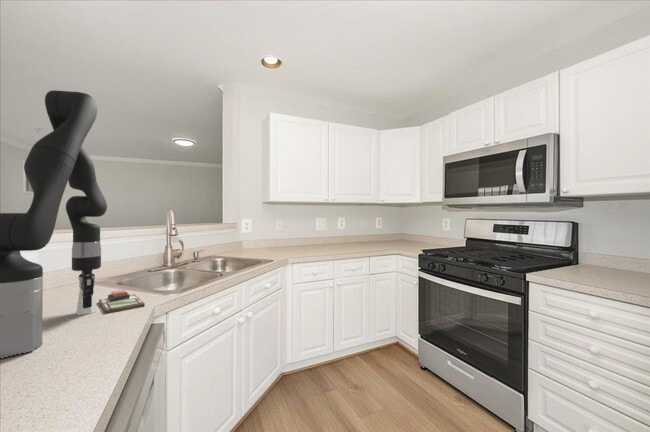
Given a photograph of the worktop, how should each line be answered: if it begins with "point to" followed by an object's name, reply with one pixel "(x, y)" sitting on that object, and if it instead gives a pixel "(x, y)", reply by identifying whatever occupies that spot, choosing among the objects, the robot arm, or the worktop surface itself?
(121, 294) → the button
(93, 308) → the pepper shaker
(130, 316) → the worktop surface
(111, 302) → the metal control panel
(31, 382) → the worktop surface
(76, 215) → the robot arm
